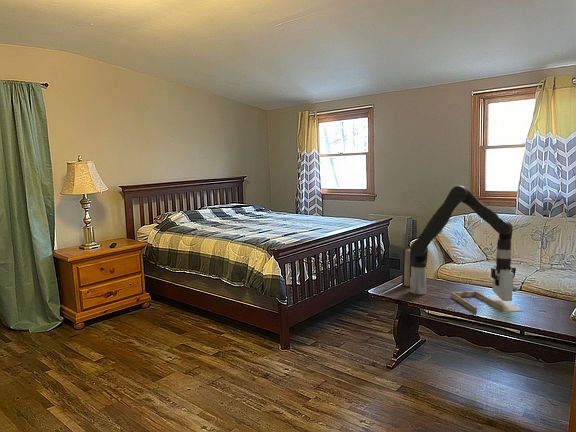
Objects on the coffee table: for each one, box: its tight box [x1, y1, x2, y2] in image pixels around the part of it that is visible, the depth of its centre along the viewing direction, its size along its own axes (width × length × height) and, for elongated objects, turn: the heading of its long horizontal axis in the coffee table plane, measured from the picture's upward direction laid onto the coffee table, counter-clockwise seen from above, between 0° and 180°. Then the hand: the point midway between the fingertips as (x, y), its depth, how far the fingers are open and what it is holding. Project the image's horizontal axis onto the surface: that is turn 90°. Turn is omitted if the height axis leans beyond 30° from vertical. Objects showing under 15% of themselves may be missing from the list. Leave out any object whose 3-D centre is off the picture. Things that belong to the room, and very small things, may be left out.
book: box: [401, 247, 413, 287], centre depth 297 cm, size 22×7×25 cm, turn 134°
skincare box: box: [492, 264, 515, 302], centre depth 250 cm, size 21×6×16 cm, turn 170°
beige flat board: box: [489, 296, 524, 313], centre depth 251 cm, size 10×24×1 cm, turn 4°
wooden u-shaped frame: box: [450, 290, 504, 314], centre depth 254 cm, size 16×29×3 cm, turn 4°
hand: (502, 285), depth 250 cm, fingers closed on skincare box, 6 cm apart
